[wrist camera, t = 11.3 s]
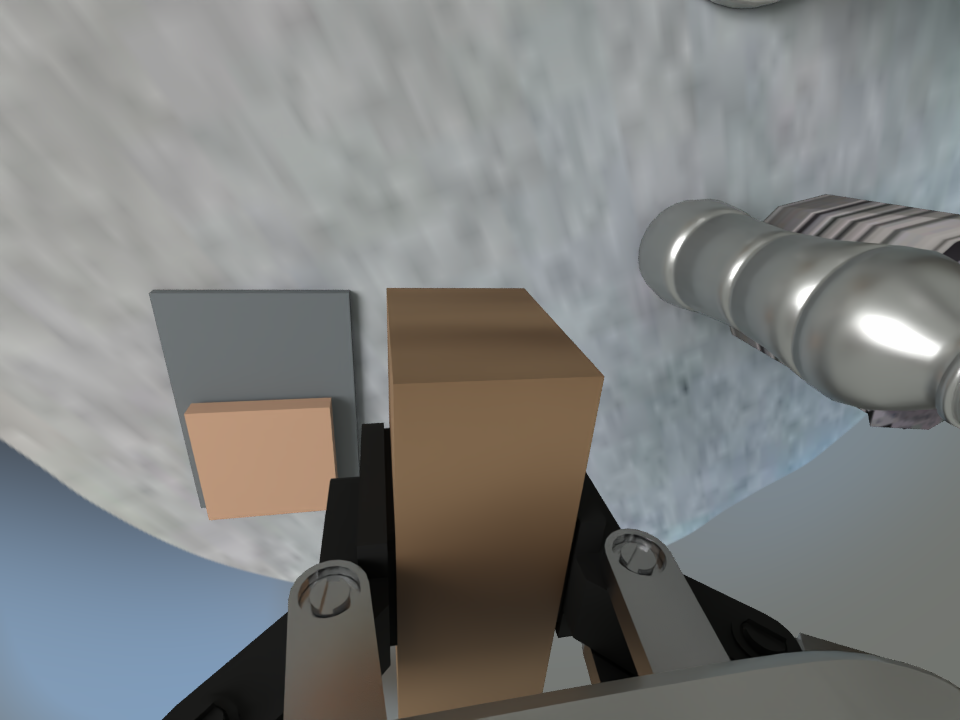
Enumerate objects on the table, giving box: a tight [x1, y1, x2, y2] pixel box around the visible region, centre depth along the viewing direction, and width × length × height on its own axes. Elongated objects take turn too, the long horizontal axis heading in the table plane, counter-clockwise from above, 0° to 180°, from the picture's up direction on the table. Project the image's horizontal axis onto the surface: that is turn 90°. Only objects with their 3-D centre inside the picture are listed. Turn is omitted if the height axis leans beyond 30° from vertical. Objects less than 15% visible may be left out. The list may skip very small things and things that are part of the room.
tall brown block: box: [381, 288, 604, 720], centre depth 12 cm, size 16×6×4 cm, turn 176°
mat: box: [149, 290, 360, 508], centre depth 30 cm, size 10×15×1 cm
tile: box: [184, 398, 338, 520], centre depth 31 cm, size 8×2×8 cm
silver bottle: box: [638, 199, 960, 429], centre depth 22 cm, size 6×7×20 cm
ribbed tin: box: [729, 194, 960, 430], centre depth 29 cm, size 11×11×12 cm
